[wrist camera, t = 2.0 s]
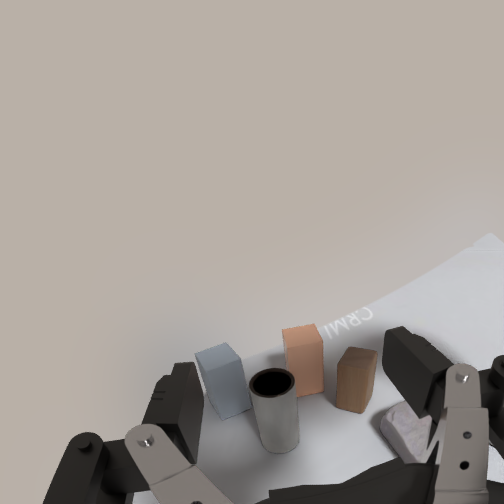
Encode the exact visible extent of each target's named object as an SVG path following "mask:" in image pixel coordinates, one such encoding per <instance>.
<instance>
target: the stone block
mask: <svg viewBox="0 0 504 504" xmlns="http://www.w3.org/2000/svg"><path fill="white" fill-rule="evenodd" d="M430 421H431V416H430V415H428V416H426V417H424V418H422V419H419V418H418V417H417V415H416V414H415V413H414V411H413V410H412V408H411V407H410V406H409V404H408V403H407V402H406V401H404V402H401V403H399V404H396V405H395V406H393V407H392V408H390V409H389V410H388V411H387V412H386V413H385V415H384V416H383V418H382V419H381V425H380V430H381V432H382V434H383V435H384V437H385V438H386V439H387V441H388V442H389V443H390V444H391V446H392V447H393V448H394V450H395V451H396V452H397V453H398V455H399V456H400V457H401V459H402V460H403V461H404V463H405V464H406V463H421V460H422V457H423V453H424V449H425V444H426V440H427V435H428V429H429V424H430Z"/></svg>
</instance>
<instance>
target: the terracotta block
mask: <svg viewBox="0 0 504 504" xmlns="http://www.w3.org/2000/svg"><path fill="white" fill-rule="evenodd" d="M282 334H283V343H284V351H285V360H286V369H287V371H289V372H290V373H292V374H293V376H294V378H295V383H296V395H297V397H301V396H306V395H311V394H316V393H320V392H324V369H323V340H322V338H321V336H320V334H319V332H318V330H317V328H316V326H315V324H311V325H305V326H299V327H294V328H289V329H282Z"/></svg>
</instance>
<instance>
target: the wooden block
mask: <svg viewBox="0 0 504 504" xmlns="http://www.w3.org/2000/svg"><path fill="white" fill-rule="evenodd" d="M376 362H377V351H374V350H368V349H362V348H356V347H348V349H347V350H346V352H345V353H344V355H343V356H342V358H341V359H340V361H339V363H338V365H337V395H336V407H337V408H340V409H344V410H347V411H351V412H356V413H360V414H362V413H363V412H364V411H365V409H366V407H367V405H368V402H369V400H370V398H371V396H372V392H373V385H374V378H375V371H376Z"/></svg>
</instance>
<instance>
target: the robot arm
mask: <svg viewBox="0 0 504 504" xmlns="http://www.w3.org/2000/svg"><path fill="white" fill-rule="evenodd" d="M382 366H383V370H384V372H385V374H386V375H387V376H388V378H389V379H390V380H391V382H392V383H393V384H394V386H395V387H396V388H397V390H398V391H399V392H400V394H401V395H402V396H403V398H404V399H405V400H406V402H407V403H408V404H409V406H410V407H411V408H412V410H413V411H414V413H415V414H416V415H417V417H418V418H419V419H422V418H424V417H426V416H428V415H430V416H431V421H430V424H429V429H428V435H427V440H426V444H425V449H424V453H423V457H422V460H421V463H406V464H404V462H403V460H402V459H401V457H398V458H396V459H393V460H391V461H388V462H385V463H382V464H380V465H377V466H374V467H371V468H369V469H368V470H366V471H364V472H362V473H360V474H359V475H357V476H355V477H353V478H351V479H349V480H347V481H345V482H343V483H340V484H329V485H300V486H295V487H289V488H282V489H275V490H269V498H268V499H265V500H262V501H260V502H258V503H255V504H504V483H500V482H495V481H490V480H487V469H488V452H489V443H490V444H492V445H493V446H494V447H495V448H496V450H497V451H498V452H499V454H500V455H501V457H502V458H503V459H504V355H501V356H498V357H496V358H495V359H494V361H493V364H492V367H491V369H486V370H482V371H477V370H476V369H475V368H474V367H473V366H471V365H468V364H456V365H454V364H453V363H452V362H451V361H450V360H449V359H447V358H446V357H445V356H444V355H443V354H442V353H441V352H440V351H438V350H436V348H435V347H434V346H433V345H431V343H429V342H428V341H427V340H426V339H425V338H423V337H421V336H418V335H416V334H412V333H410V332H409V331H408V330H407V329H406V328H405V327H403V326H400V327H397V328H393V329H390V330H387V331H386V332H385V337H384V347H383V356H382ZM203 407H204V396H203V391H202V388H201V384H200V380H199V377H198V373H197V370H196V366H195V364H194V362H184V363H175V364H174V367H173V370H172V373H171V375H164V376H163V377H162V378H161V379H160V380H159V381H158V382H157V383H156V386H155V389H154V393H153V394H152V397H151V400H150V402H149V405H148V408H147V410H146V413H145V416H144V418H143V421H142V424H141V425H139V426H136V427H134V428H132V429H131V430H130V431H129V432H128V433H127V434H126V436H125V439H121V440H115V441H108V442H103V440H102V439H101V438H100V436H98V435H97V434H95V433H91V432H85V433H81V434H78V435H76V436H75V437H74V438H72V439H71V441H70V442H69V444H68V446H67V448H66V450H65V453H64V455H63V457H62V459H61V461H60V464H59V466H58V468H57V470H56V473H55V475H54V477H53V480H52V482H51V484H50V487H49V489H48V492H47V494H46V496H45V499H44V501H43V504H132V502H133V496H134V492H141V491H148V490H151V491H152V492H153V494H154V495H155V497H156V498H157V500H158V501H159V502H160V504H234V503H233V502H232V501H231V500H229V499H228V498H227V497H226V496H225V495H224V494H223V493H222V492H221V491H220V490H219V489H218V488H217V487H216V486H215V485H214V484H213V483H212V482H211V481H210V480H209V479H208V478H207V477H206V476H205V475H204V474H203V473H202V472H201V470H200V469H199V468H198V467H197V466H195V465H191V464H196V463H197V455H198V446H199V438H200V430H201V422H202V414H203Z"/></svg>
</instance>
